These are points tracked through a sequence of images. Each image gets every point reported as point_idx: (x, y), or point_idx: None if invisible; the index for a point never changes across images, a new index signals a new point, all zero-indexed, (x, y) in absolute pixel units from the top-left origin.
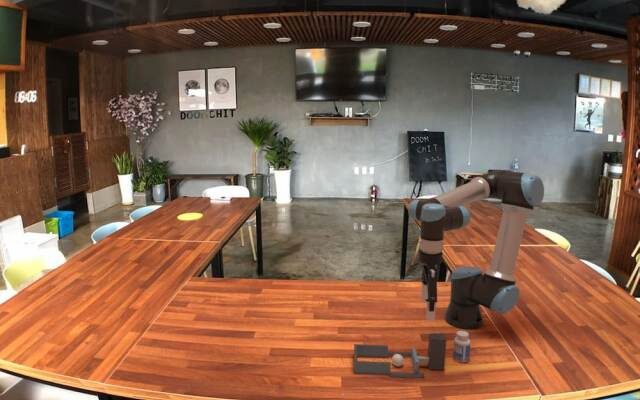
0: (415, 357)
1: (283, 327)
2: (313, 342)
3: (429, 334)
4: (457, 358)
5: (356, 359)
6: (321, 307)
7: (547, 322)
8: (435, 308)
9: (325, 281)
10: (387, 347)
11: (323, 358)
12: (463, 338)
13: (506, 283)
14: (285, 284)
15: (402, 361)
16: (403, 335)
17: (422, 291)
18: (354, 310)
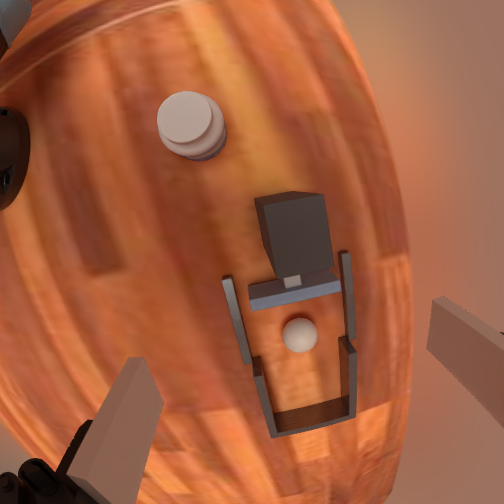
0: (315, 293)
1: (207, 500)
2: (242, 472)
3: (288, 276)
4: (222, 147)
5: (342, 418)
6: None
7: None
8: (500, 333)
9: (20, 445)
10: (262, 375)
11: (299, 451)
12: (212, 113)
13: None
14: None
15: (310, 323)
16: (118, 324)
17: (142, 468)
18: (71, 422)
